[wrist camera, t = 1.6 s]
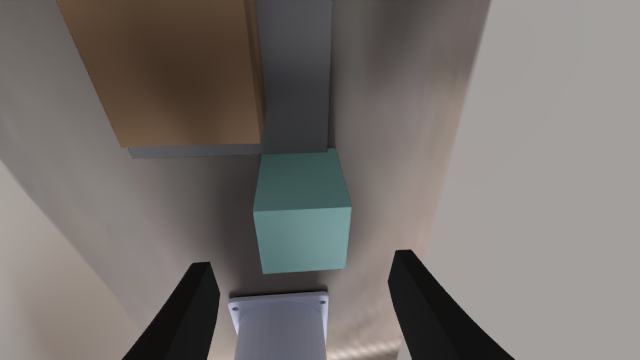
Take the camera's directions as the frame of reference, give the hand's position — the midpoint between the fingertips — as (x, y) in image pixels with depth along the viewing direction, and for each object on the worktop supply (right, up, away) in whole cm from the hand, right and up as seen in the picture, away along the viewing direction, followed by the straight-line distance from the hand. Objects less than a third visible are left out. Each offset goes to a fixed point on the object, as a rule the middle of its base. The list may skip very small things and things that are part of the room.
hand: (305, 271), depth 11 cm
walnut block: (-4, +9, +1) cm, 10 cm away
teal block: (-1, +4, +5) cm, 7 cm away
